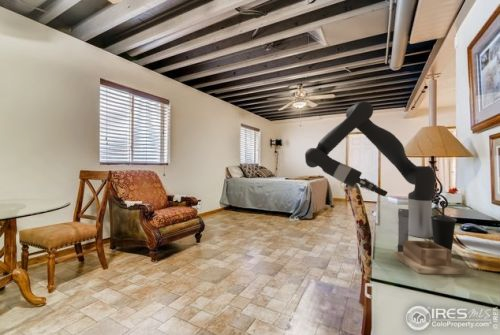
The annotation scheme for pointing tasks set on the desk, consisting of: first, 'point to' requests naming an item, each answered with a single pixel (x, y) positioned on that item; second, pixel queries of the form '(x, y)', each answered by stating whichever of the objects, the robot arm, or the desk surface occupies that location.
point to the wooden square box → (427, 258)
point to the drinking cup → (443, 229)
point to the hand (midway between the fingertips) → (385, 194)
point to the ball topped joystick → (402, 227)
